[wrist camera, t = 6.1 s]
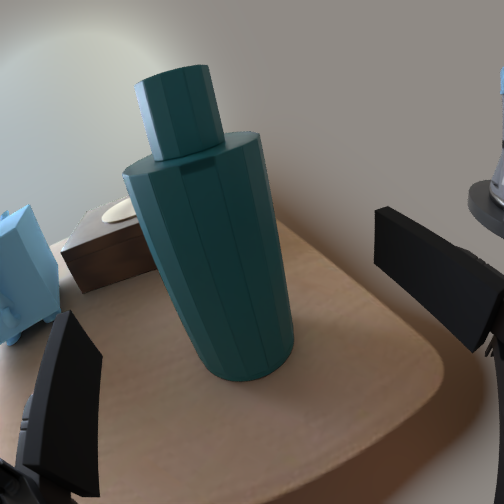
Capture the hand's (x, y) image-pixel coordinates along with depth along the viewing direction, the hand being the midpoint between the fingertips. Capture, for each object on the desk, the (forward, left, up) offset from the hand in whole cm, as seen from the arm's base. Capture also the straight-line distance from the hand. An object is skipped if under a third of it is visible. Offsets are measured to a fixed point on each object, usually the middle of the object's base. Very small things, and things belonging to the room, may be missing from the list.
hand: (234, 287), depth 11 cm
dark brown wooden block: (+8, -28, -9) cm, 30 cm away
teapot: (+26, -22, -10) cm, 35 cm away
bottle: (0, -6, -9) cm, 11 cm away
